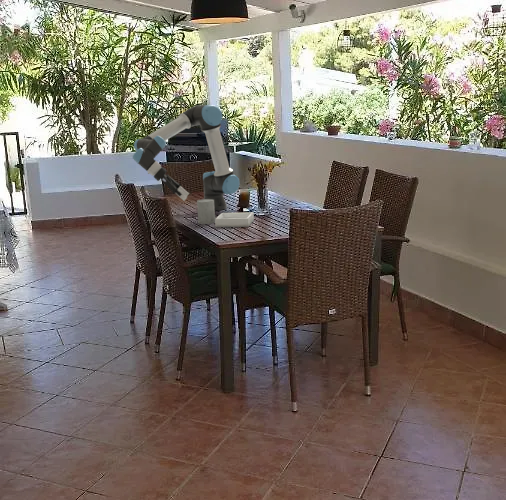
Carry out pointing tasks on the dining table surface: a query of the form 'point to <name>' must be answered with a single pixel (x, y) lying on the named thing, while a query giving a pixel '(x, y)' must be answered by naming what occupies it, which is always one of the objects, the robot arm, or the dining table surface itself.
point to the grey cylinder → (206, 211)
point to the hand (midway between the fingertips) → (186, 197)
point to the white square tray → (234, 219)
